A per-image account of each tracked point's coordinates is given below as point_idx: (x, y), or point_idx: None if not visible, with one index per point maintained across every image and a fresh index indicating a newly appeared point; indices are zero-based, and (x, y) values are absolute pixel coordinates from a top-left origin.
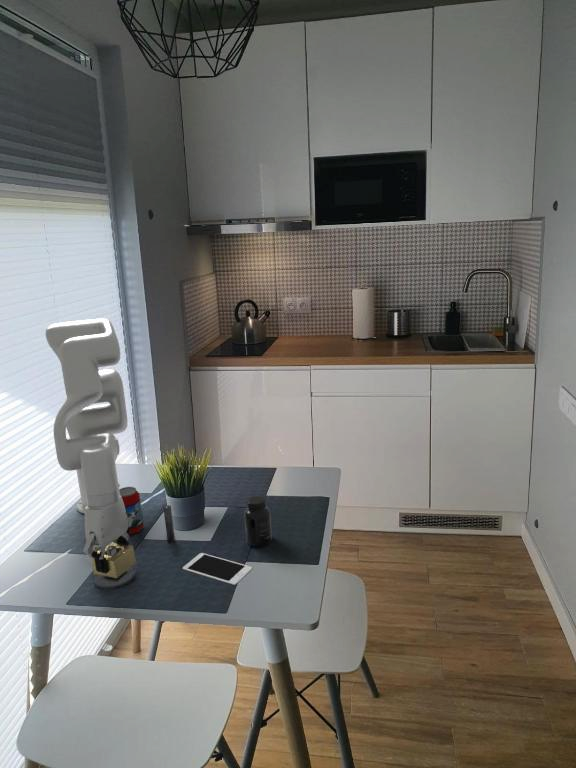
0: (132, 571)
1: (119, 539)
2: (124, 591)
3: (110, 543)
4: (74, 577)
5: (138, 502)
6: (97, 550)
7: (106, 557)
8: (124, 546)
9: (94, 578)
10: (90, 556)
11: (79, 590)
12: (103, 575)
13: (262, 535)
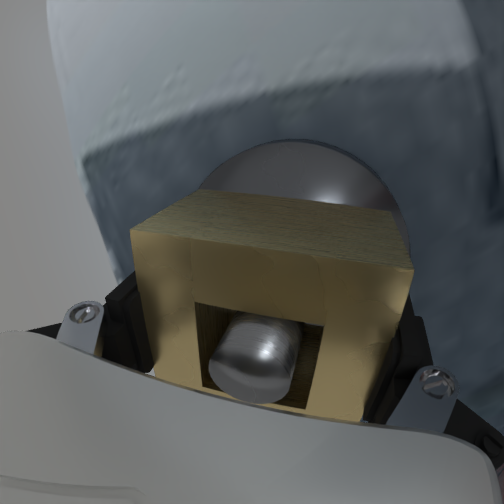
0: None
1: (391, 396)
2: None
3: (385, 286)
4: (228, 28)
5: None
6: (100, 352)
7: (171, 356)
8: (340, 410)
9: (202, 188)
10: (45, 327)
11: (153, 139)
12: None
13: None
